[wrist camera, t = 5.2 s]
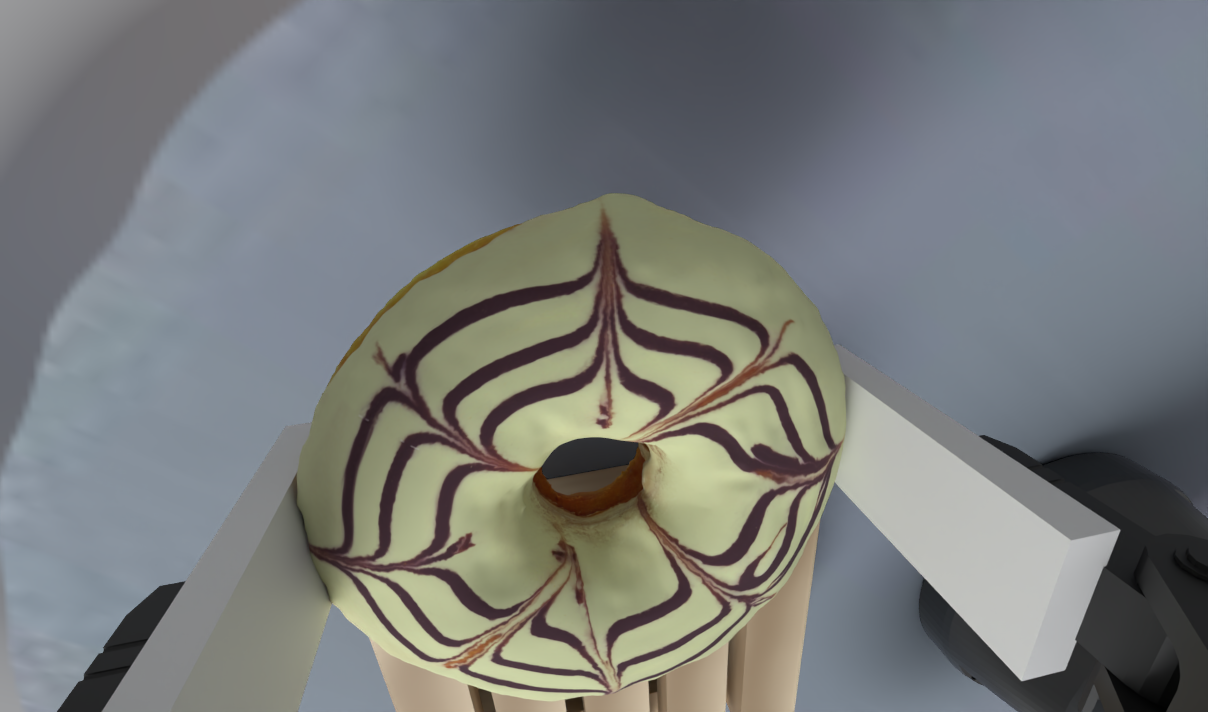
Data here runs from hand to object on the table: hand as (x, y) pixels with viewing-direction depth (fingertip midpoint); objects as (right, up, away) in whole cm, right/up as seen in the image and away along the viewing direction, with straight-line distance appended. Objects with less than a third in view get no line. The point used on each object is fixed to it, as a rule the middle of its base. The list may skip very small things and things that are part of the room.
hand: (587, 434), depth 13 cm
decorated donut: (0, 0, +1) cm, 1 cm away
